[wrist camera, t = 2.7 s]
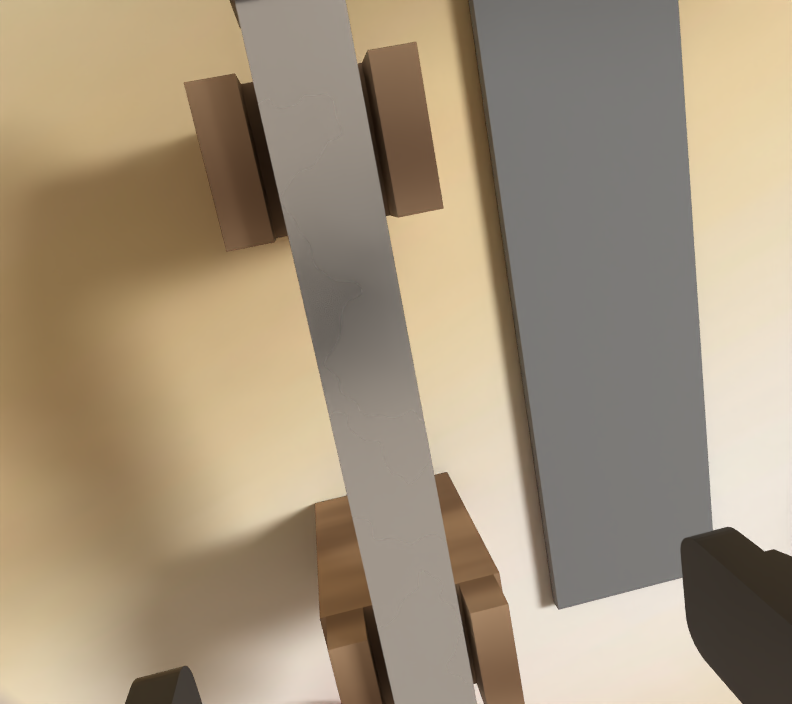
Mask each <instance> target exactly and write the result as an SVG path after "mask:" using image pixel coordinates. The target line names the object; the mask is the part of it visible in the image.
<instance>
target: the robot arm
mask: <svg viewBox="0 0 792 704" xmlns="http://www.w3.org/2000/svg"><path fill="white" fill-rule="evenodd" d="M680 553H681V565H682V576H683V587H684V598H685V610H686V619H687V624H688V628H689V631H690V634H691V637H692V639H693V641H694V644H695V646H696V647H697V649H698V651H699V653H700V654H701V656H702V657H703V659H704V660H705V661H706V662H707V663H708V665H709V666H710V667H711V668H712V669H713V670H714V671H715V673H716V674H717V675H718V676H719V677H720V678H721V679H722V681H723V682H724V683H725V684H726V685H727V686H728V688H729V689H730V690H731V691H732V692H733V693H734V694H735V696H736V697H737V698H738V699H739V700H740V701H741V703H742V704H792V556H789V555H787V554H784V553H782V552H779V551H777V550H774V549H773V550H769V551H765V552H764V551H763V550H762V549H761V548H759V547H758V546H757V545H755V544H754V543H753V542H751V541H750V540H749V539H748V538H746V537H745V536H744V535H742V534H741V533H740V532H738V531H737V530H735V529H734V528H731V527H725V528H721V529H717V530H713V531H710V532H706V533H702V534H698V535H694V536H690V537H687V538H684V539H683V540H682V542H681V547H680ZM125 704H202V702H201V698H200V695H199V692H198V689H197V686H196V683H195V680H194V677H193V674H192V672H191V670H190V669H189V668H188V667H187V666H183V667H179V668H175V669H171V670H168V671H164V672H160V673H156V674H152V675H148V676H144V677H141V678H137V679H135V680H134V682H133V683H132V686H131V688H130V691H129V694H128V697H127V699H126V702H125Z"/></svg>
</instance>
